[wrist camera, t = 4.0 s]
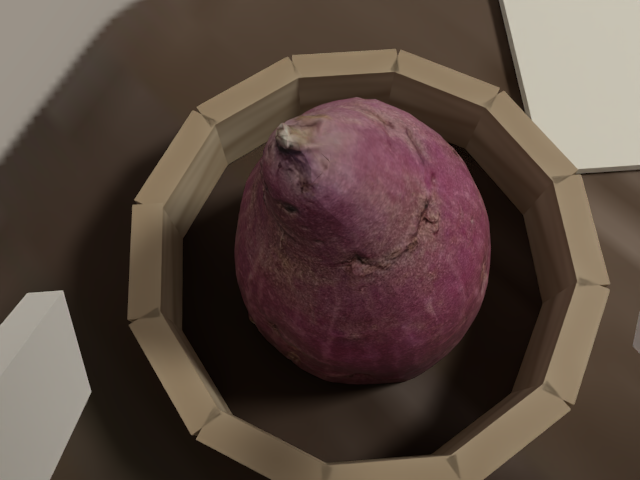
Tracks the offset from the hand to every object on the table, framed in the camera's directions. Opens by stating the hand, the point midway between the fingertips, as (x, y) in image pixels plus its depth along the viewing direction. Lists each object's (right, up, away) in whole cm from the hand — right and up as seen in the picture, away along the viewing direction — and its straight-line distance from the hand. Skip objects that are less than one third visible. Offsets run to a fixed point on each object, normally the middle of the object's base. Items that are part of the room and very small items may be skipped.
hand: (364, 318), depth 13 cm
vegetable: (+1, 0, +12) cm, 12 cm away
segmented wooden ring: (+1, 0, +12) cm, 12 cm away
